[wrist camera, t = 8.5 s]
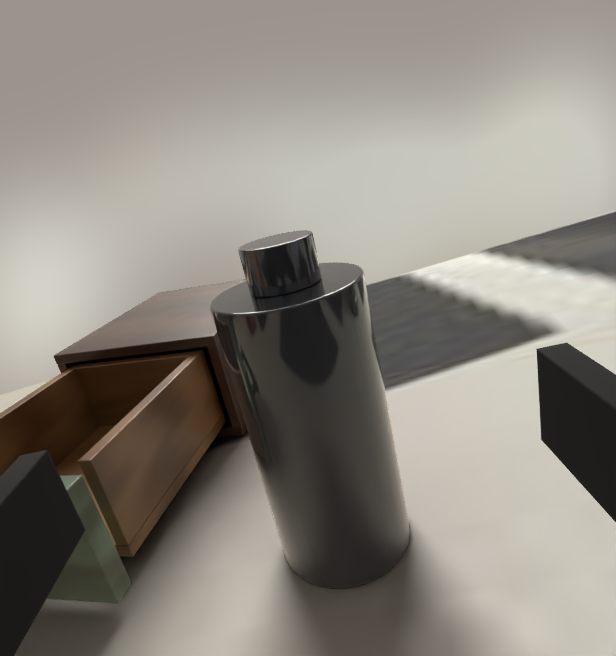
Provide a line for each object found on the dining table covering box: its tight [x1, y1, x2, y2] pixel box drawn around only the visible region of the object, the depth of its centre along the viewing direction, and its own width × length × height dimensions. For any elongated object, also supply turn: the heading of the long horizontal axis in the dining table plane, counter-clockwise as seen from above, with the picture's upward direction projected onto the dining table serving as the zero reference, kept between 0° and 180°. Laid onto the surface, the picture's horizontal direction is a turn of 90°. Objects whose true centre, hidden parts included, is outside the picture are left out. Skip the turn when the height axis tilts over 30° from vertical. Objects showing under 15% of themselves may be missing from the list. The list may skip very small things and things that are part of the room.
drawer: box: [0, 350, 226, 603], centre depth 28 cm, size 20×13×7 cm
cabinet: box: [54, 279, 247, 437], centre depth 44 cm, size 17×15×9 cm
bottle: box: [210, 231, 410, 588], centre depth 22 cm, size 7×7×16 cm
